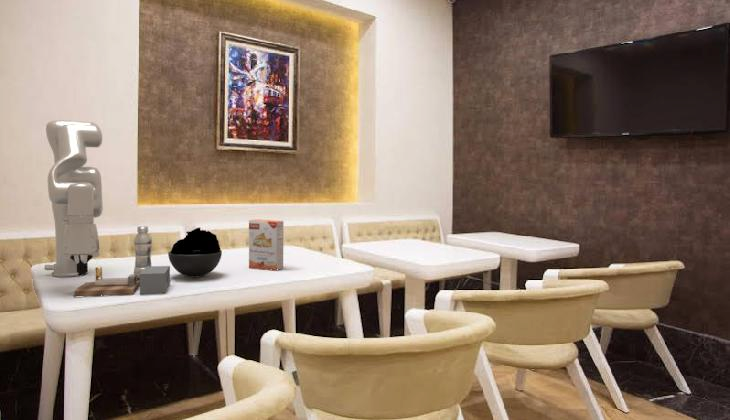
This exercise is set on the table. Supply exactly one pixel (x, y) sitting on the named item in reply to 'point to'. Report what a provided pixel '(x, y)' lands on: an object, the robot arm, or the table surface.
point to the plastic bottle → (142, 250)
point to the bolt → (108, 279)
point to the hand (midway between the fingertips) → (82, 274)
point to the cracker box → (265, 244)
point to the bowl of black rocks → (196, 253)
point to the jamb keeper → (154, 280)
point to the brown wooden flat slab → (109, 288)
